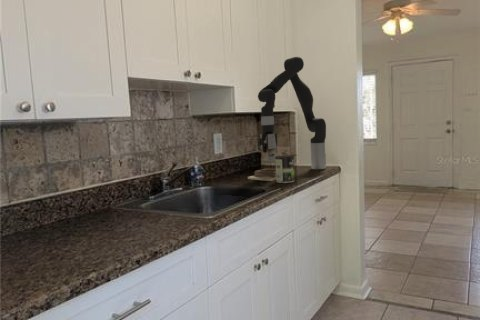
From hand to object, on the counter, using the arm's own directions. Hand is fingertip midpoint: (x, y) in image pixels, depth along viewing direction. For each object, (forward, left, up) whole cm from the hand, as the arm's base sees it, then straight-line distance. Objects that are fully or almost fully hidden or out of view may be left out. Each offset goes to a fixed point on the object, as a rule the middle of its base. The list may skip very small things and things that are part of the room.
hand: (268, 151), depth 227 cm
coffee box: (0, 0, -5) cm, 5 cm away
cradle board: (0, 0, -15) cm, 15 cm away
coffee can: (+8, +17, -16) cm, 24 cm away
